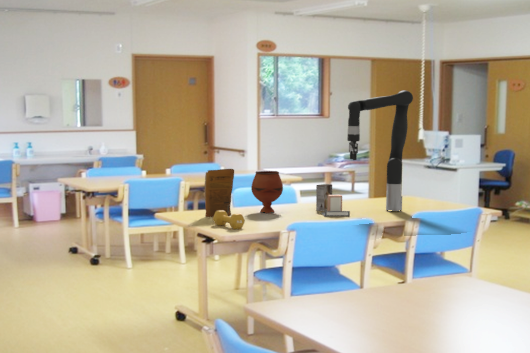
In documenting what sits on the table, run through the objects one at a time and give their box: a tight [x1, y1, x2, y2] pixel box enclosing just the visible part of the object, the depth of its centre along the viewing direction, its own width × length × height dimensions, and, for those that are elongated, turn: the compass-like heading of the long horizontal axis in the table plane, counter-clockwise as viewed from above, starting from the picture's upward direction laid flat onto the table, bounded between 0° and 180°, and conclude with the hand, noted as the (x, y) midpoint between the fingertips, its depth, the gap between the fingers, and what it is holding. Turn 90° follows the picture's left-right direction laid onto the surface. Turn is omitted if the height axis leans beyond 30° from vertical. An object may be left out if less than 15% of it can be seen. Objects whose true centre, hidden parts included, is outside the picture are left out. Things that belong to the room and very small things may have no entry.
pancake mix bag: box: [204, 168, 235, 218], centre depth 433 cm, size 7×19×28 cm, turn 115°
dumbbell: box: [212, 210, 246, 230], centre depth 397 cm, size 19×9×8 cm, turn 39°
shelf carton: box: [327, 194, 343, 211], centre depth 446 cm, size 5×8×11 cm, turn 96°
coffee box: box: [315, 183, 333, 212], centre depth 464 cm, size 9×6×16 cm
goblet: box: [251, 170, 284, 214], centre depth 451 cm, size 19×19×25 cm
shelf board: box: [321, 210, 351, 217], centre depth 444 cm, size 15×12×3 cm
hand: (353, 159), depth 459 cm, fingers open, 8 cm apart
